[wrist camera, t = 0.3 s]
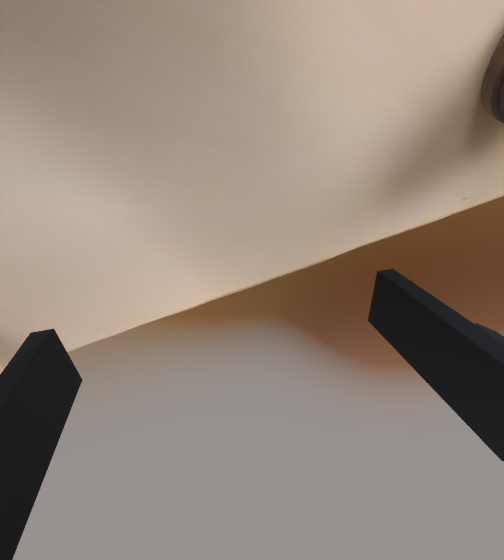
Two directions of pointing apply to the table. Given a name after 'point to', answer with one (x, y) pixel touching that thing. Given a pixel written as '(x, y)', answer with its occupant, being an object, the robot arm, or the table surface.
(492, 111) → the turntable
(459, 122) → the table surface
